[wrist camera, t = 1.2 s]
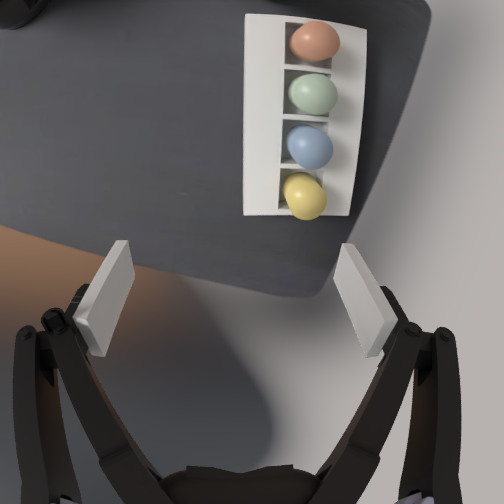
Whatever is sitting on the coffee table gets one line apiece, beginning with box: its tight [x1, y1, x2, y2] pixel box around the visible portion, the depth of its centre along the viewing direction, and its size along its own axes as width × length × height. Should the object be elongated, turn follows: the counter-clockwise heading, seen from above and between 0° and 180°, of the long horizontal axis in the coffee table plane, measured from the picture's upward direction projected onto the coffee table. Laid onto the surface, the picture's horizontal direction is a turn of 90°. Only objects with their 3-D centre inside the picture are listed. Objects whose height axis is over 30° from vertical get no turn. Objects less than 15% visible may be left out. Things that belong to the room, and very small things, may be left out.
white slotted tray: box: [243, 14, 367, 216], centre depth 31 cm, size 25×14×4 cm, turn 179°
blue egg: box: [285, 124, 333, 170], centre depth 29 cm, size 4×4×4 cm
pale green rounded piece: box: [287, 74, 338, 115], centre depth 26 cm, size 4×4×4 cm
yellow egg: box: [283, 172, 327, 220], centre depth 33 cm, size 4×4×4 cm
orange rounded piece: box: [289, 21, 340, 63], centre depth 23 cm, size 4×4×4 cm
